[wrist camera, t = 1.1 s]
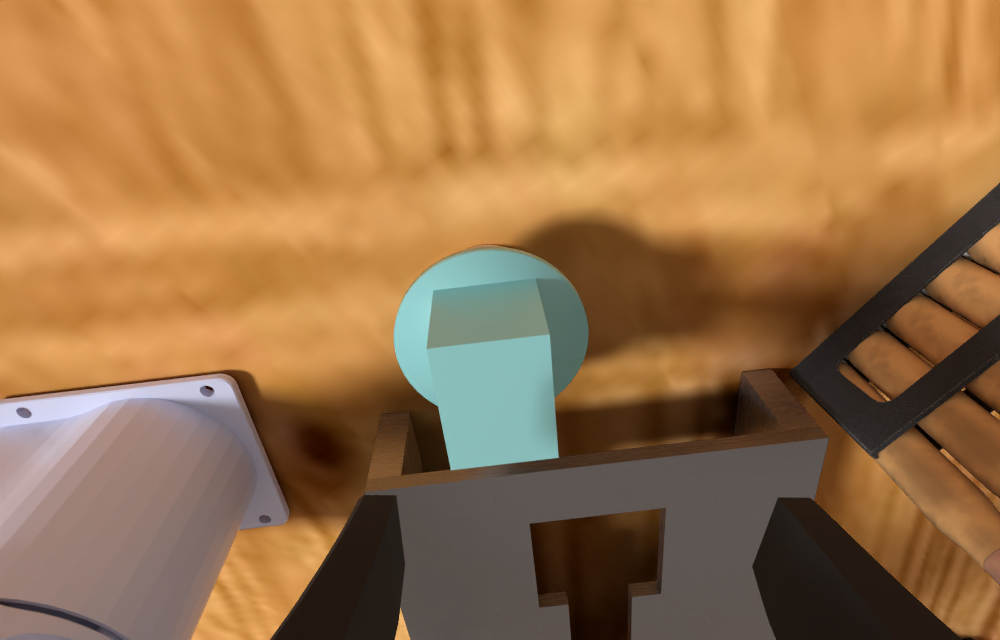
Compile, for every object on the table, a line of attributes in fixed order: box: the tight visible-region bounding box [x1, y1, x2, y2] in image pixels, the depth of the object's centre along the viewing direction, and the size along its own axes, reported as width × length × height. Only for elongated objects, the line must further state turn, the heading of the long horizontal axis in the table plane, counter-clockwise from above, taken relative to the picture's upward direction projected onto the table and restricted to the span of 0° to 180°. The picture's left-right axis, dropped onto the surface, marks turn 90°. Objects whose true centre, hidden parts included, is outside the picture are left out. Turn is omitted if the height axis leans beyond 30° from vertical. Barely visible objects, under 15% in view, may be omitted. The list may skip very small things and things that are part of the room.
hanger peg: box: [394, 244, 589, 470], centre depth 18 cm, size 6×6×7 cm
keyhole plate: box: [365, 369, 829, 640], centre depth 26 cm, size 16×22×4 cm
